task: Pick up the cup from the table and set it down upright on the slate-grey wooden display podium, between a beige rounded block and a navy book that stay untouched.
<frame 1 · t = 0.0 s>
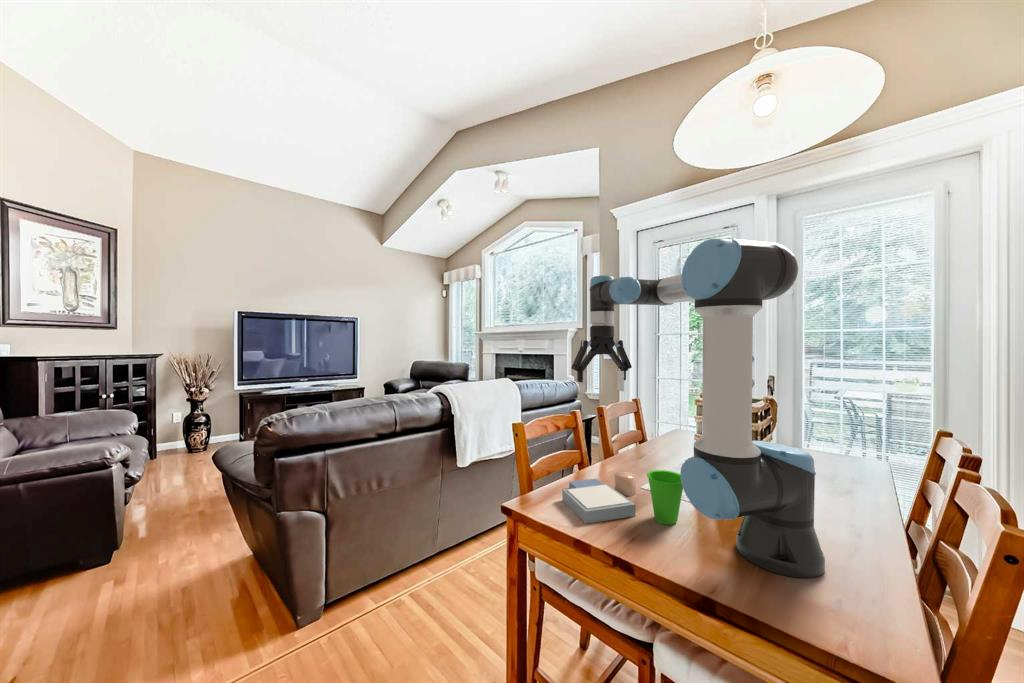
hand: (601, 391, 123), 28 cm above the table, fingers open, 13 cm apart
podium: (597, 507, 103), on the table
cup: (665, 520, 96), on the table
beige rounded block: (625, 492, 114), on the table
book: (587, 491, 115), on the table
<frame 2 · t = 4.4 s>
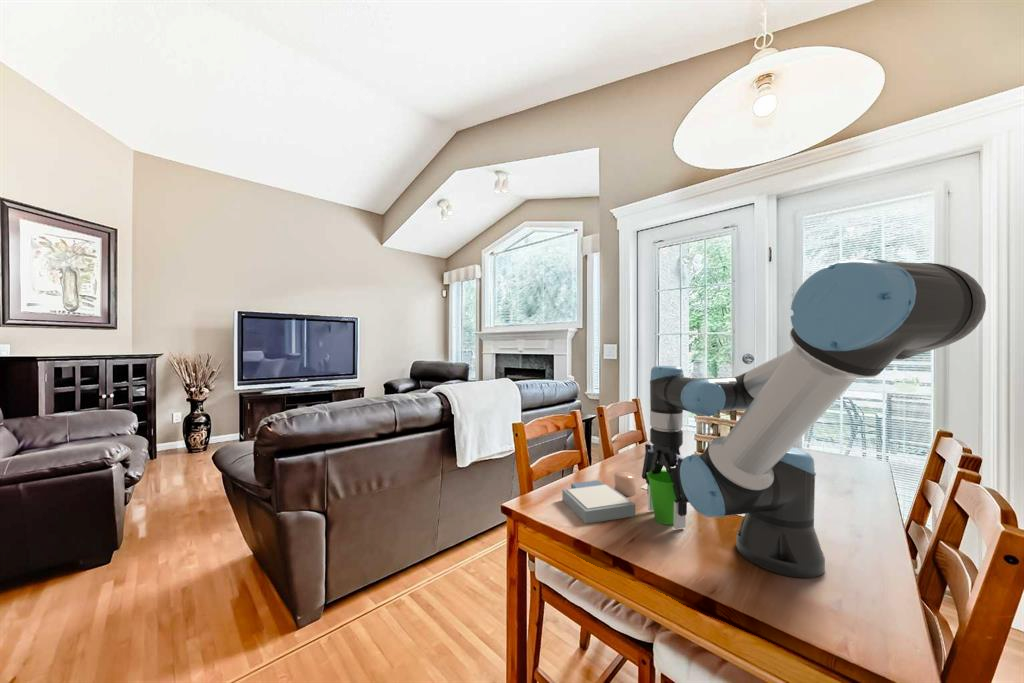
hand: (665, 517, 96), 0 cm above the table, fingers closed on cup, 9 cm apart
cup: (665, 520, 96), on the table, touching gripper
book: (589, 493, 114), on the table
everything else where it was.
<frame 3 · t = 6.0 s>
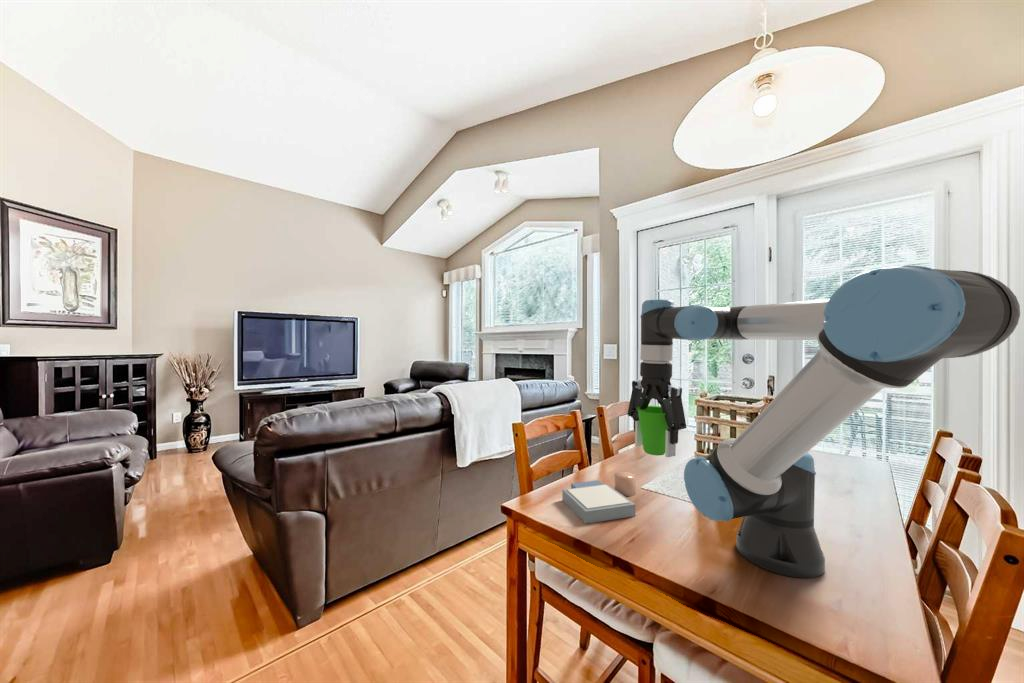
hand: (654, 450, 98), 17 cm above the table, fingers closed on cup, 9 cm apart
cup: (654, 453, 98), point 16 cm above the table, touching gripper
everything else where it was.
when the fingers open (5 cm above the table, at t = 9.8 s): cup drops 1 cm, resting on podium.
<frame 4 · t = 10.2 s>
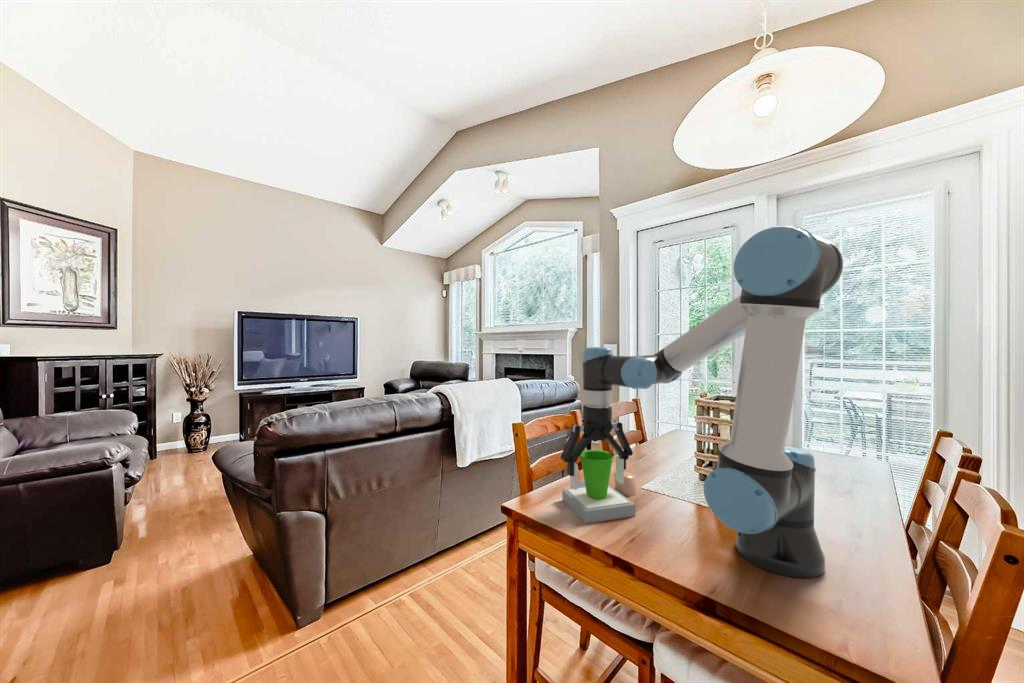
hand: (597, 484, 103), 6 cm above the table, fingers open, 13 cm apart
cup: (596, 496, 103), point 3 cm above the table, touching podium
everything else where it was.
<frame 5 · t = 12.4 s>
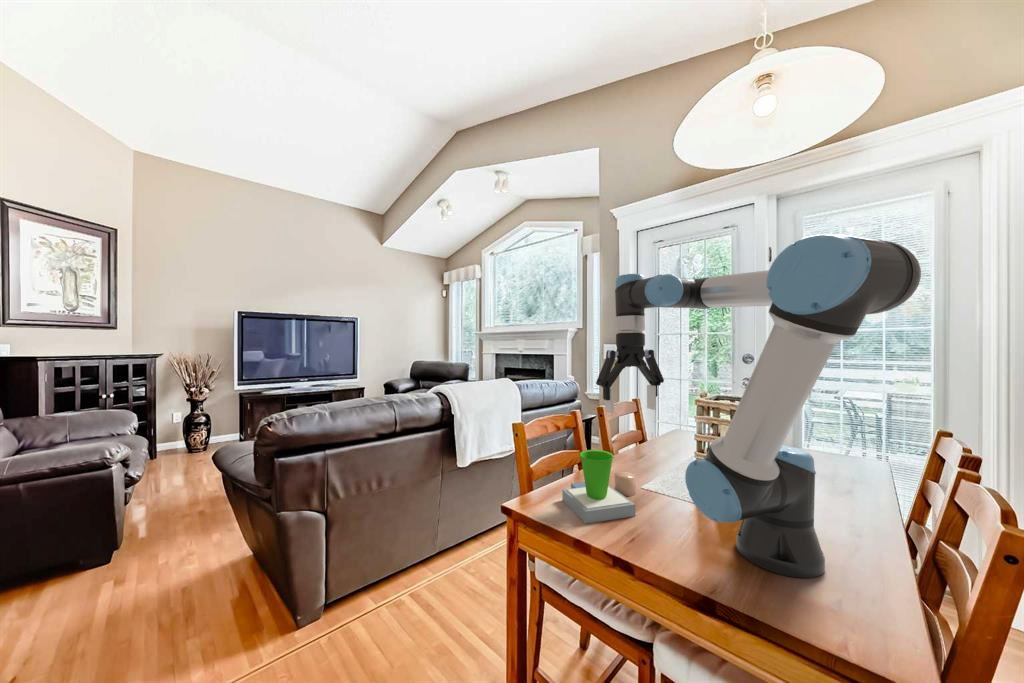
hand: (631, 410, 105), 26 cm above the table, fingers open, 13 cm apart
nothing on the table moved.
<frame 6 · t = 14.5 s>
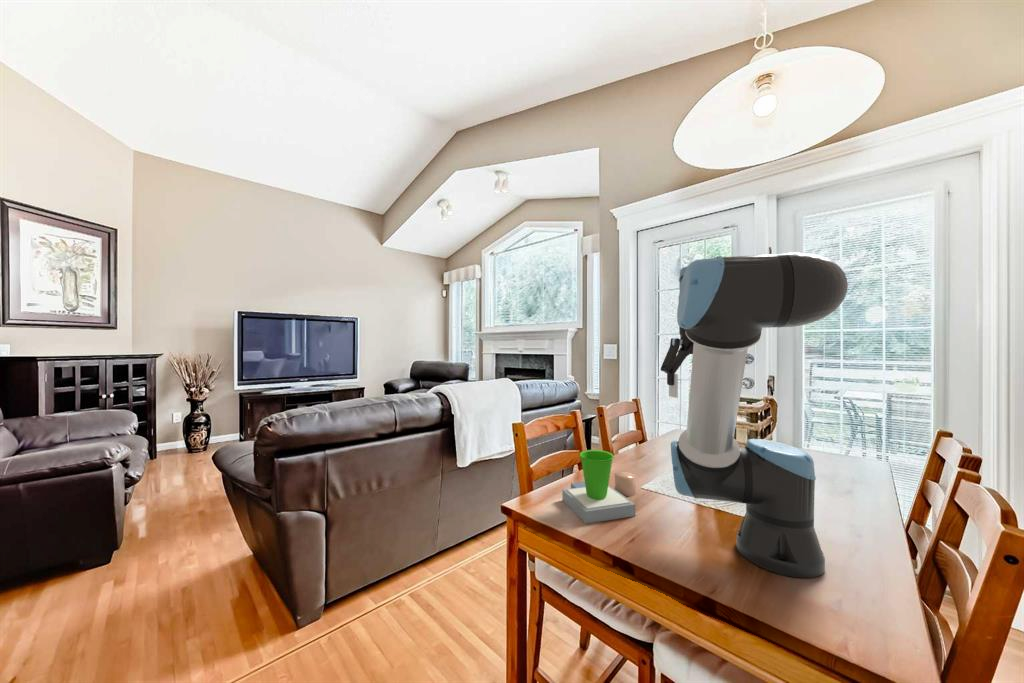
hand: (693, 395, 110), 29 cm above the table, fingers open, 13 cm apart
nothing on the table moved.
at the end: cup inside the target area on the podium (0.2 cm from its centre), point 3.1 cm above the podium's base; cup tilted 0°; the gripper is holding nothing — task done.
